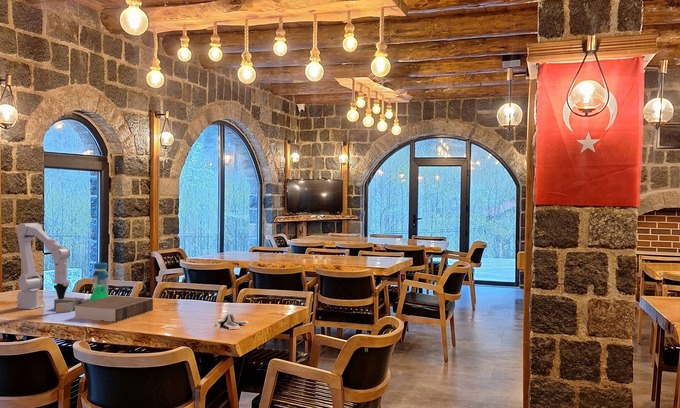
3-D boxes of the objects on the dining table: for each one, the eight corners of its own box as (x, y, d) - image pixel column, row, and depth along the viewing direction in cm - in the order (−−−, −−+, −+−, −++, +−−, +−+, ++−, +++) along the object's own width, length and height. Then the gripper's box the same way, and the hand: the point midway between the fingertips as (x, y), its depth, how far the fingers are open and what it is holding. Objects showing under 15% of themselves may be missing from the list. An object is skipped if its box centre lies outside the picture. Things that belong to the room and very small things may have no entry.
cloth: (219, 320, 266) (220, 307, 266) (255, 323, 261) (255, 310, 261) (196, 331, 244) (196, 317, 244) (235, 334, 240) (235, 320, 240)
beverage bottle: (104, 299, 311) (104, 264, 311) (89, 299, 311) (89, 264, 311) (111, 297, 319) (111, 262, 319) (96, 296, 319) (96, 262, 319)
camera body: (54, 309, 284) (54, 298, 284) (63, 306, 291) (64, 295, 291) (76, 310, 281) (76, 299, 281) (86, 308, 288) (86, 297, 288)
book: (152, 311, 285) (152, 298, 284) (117, 323, 258) (117, 309, 257) (112, 308, 291) (112, 295, 291) (73, 319, 264) (73, 305, 264)
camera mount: (96, 307, 291) (96, 287, 291) (88, 305, 295) (88, 286, 295) (116, 303, 301) (117, 285, 301) (108, 302, 305) (108, 283, 305)
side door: (56, 312, 275) (56, 303, 275) (55, 312, 276) (55, 303, 276) (74, 310, 280) (74, 302, 280) (74, 310, 282) (74, 301, 281)
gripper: (75, 272, 277) (75, 299, 277) (63, 270, 287) (63, 296, 287) (60, 274, 272) (60, 301, 272) (49, 271, 281) (49, 297, 282)
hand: (60, 299), depth 279 cm, fingers closed
